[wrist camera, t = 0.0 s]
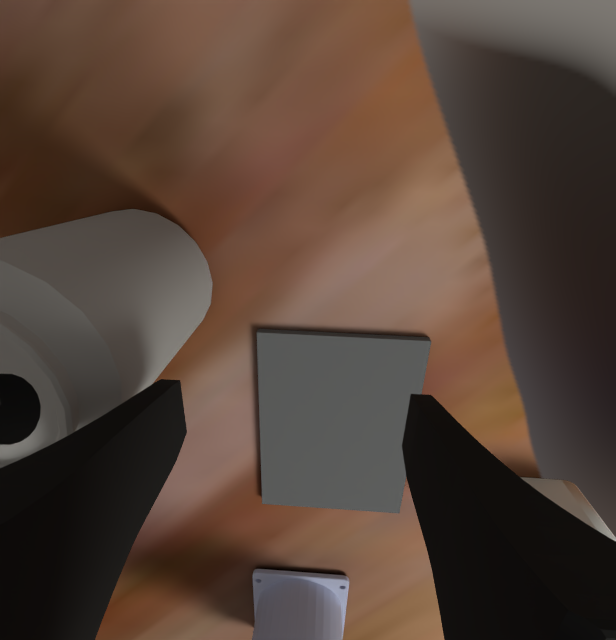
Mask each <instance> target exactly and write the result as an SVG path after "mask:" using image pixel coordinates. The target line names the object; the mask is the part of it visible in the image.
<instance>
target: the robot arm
mask: <svg viewBox="0 0 616 640" xmlns="http://www.w3.org/2000/svg"><path fill="white" fill-rule="evenodd" d="M186 433H187V430H186V422H185V414H184V407H183V399H182V392H181V384H180V380H164V379H161V380H159V381H157V382H155V383H154V384H152V385H150V386H149V387H147V388H145V389H144V390H142V391H141V392H139V393H138V394H136V395H134V396H133V397H131V398H130V399H128V400H127V401H125V402H123V403H122V404H120V405H119V406H117V407H115V408H114V409H112V410H111V411H109V412H108V413H106V414H104V415H103V416H101V417H99V418H98V419H96V420H94V421H92V422H91V423H89V424H87V425H86V426H84V427H82V428H80V429H79V430H77V431H75V432H73V433H72V434H70V435H68V436H66V437H64V438H63V439H61V440H59V441H57V442H55V443H53V444H51V445H49V446H47V447H45V448H43V449H41V450H39V451H37V452H35V453H33V454H31V455H29V456H27V457H25V458H22V459H20V460H18V461H16V462H13V463H11V464H9V465H6V466H4V467H2V468H0V640H95V638H96V635H97V632H98V630H99V627H100V624H101V621H102V619H103V616H104V614H105V611H106V609H107V606H108V604H109V601H110V599H111V596H112V593H113V591H114V588H115V586H116V583H117V581H118V578H119V576H120V574H121V571H122V569H123V566H124V564H125V562H126V559H127V557H128V554H129V552H130V550H131V547H132V545H133V543H134V541H135V539H136V537H137V535H138V533H139V531H140V529H141V527H142V525H143V523H144V521H145V519H146V517H147V515H148V514H149V512H150V510H151V508H152V506H153V504H154V502H155V500H156V499H157V497H158V495H159V493H160V491H161V489H162V487H163V485H164V483H165V482H166V480H167V478H168V476H169V474H170V472H171V470H172V468H173V466H174V464H175V462H176V460H177V457H178V455H179V452H180V450H181V447H182V444H183V441H184V439H185V436H186ZM402 451H403V458H404V464H405V470H406V476H407V480H408V484H409V488H410V491H411V495H412V498H413V502H414V506H415V509H416V513H417V516H418V519H419V523H420V526H421V530H422V533H423V537H424V540H425V544H426V547H427V551H428V555H429V559H430V563H431V567H432V572H433V578H434V583H435V588H436V594H437V599H438V604H439V610H440V615H441V621H442V627H443V633H444V639H445V640H616V541H614V540H612V539H611V538H609V537H607V536H606V535H604V534H602V533H601V532H599V531H597V530H596V529H594V528H592V527H591V526H589V525H588V524H586V523H585V522H583V521H581V520H580V519H578V518H577V517H575V516H574V515H572V514H571V513H569V512H568V511H566V510H565V509H563V508H562V507H560V506H559V505H557V504H556V503H554V502H553V501H551V500H550V499H549V498H547V497H546V496H544V495H543V494H542V493H540V492H539V491H538V490H536V489H535V488H534V487H532V486H531V485H530V484H528V483H527V482H526V481H524V480H523V479H522V478H520V477H519V476H518V475H516V474H515V473H514V472H513V471H511V470H510V469H509V468H508V467H507V466H505V465H504V464H503V463H502V462H501V461H500V460H498V459H497V458H496V457H495V456H494V455H493V454H491V453H490V452H489V451H488V450H487V449H486V448H485V447H484V446H482V445H481V444H480V443H479V442H478V441H477V440H476V439H475V438H474V437H473V436H472V435H471V434H470V433H469V432H468V431H467V430H465V429H464V428H463V427H462V426H461V425H460V424H459V423H458V422H457V421H456V420H455V419H454V418H453V417H452V416H451V415H450V414H449V413H448V412H447V410H446V409H445V408H444V407H443V406H442V405H441V404H440V403H439V402H438V401H437V400H436V399H435V398H434V397H433V396H431V395H422V394H411V396H410V401H409V407H408V413H407V419H406V424H405V430H404V436H403V442H402ZM252 577H253V596H254V615H255V624H254V631H253V637H252V640H342V639H343V630H344V622H345V614H346V605H347V597H348V588H349V578H348V577H347V576H345V575H334V574H321V573H308V572H295V571H282V570H269V569H255V570H254V571H253V576H252Z"/></svg>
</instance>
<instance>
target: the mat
mask: <svg viewBox="0 0 616 640" xmlns="http://www.w3.org/2000/svg"><path fill="white" fill-rule="evenodd" d="M430 345H431V340H430V338H429V337H412V336H392V335H372V334H352V333H333V332H313V331H293V330H273V329H258V331H257V357H258V388H259V419H260V451H261V482H262V504H273V505H288V506H302V507H316V508H331V509H345V510H359V511H374V512H388V513H399V512H400V506H401V501H402V496H403V490H404V485H405V480H406V470H405V464H404V458H403V451H402V442H403V436H404V430H405V424H406V419H407V413H408V407H409V401H410V396H411V394H421V393H422V388H423V383H424V377H425V372H426V366H427V361H428V356H429V350H430Z"/></svg>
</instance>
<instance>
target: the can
mask: <svg viewBox="0 0 616 640" xmlns="http://www.w3.org/2000/svg"><path fill="white" fill-rule="evenodd" d="M212 284H213V283H212V279H211V275H210V271H209V267H208V262H207V261H206V259H205V257H204V256H203V254H202V252H201V250H200V249H199V247H198V245H197V243H196V242H195V241H194V240H193V239H192V238H191V237H190V236H189V235H188V234H187V233H186V232H185V231H184V230H183V229H182V228H181V227H180V226H179V225H177V224H175V223H173V222H171V221H170V220H168V219H166V218H164V217H162V216H160V215H159V214H157V213H152V212H147V211H142V210H137V209H127V210H120V211H112V212H108V213H103V214H99V215H95V216H91V217H87V218H82V219H78V220H74V221H70V222H66V223H61V224H57V225H53V226H49V227H45V228H40V229H36V230H32V231H28V232H24V233H19V234H15V235H11V236H7V237H3V238H0V468H2V467H4V466H6V465H9V464H11V463H13V462H16V461H18V460H20V459H22V458H25V457H27V456H29V455H31V454H33V453H35V452H37V451H39V450H41V449H43V448H45V447H47V446H49V445H51V444H53V443H55V442H57V441H59V440H61V439H63V438H64V437H66V436H68V435H70V434H72V433H73V432H75V431H77V430H79V429H80V428H82V427H84V426H86V425H87V424H89V423H91V422H92V421H94V420H96V419H98V418H99V417H101V416H103V415H104V414H106V413H108V412H109V411H111V410H112V409H114V408H115V407H117V406H119V405H120V404H122V403H123V402H125V401H127V400H128V399H130V398H131V397H133V396H134V395H136V394H138V393H139V392H141V391H142V390H144V389H145V388H147V387H149V386H150V385H152V383H153V382H154V381H155V380H156V378H157V377H158V376H159V375H160V373H161V372H162V371H163V370H164V368H165V367H166V366H167V365H168V363H169V362H170V361H171V360H172V358H173V357H174V356H175V355H176V353H177V352H178V351H179V350H180V348H181V347H182V346H183V344H184V343H185V342H186V341H187V339H188V338H189V337H190V336H191V334H192V333H193V332H194V331H195V329H196V328H197V327H198V326H199V324H200V323H201V322H202V321H203V319H204V317H205V315H206V312H207V310H208V308H209V306H210V304H211V295H212Z"/></svg>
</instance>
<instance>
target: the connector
mask: <svg viewBox="0 0 616 640" xmlns="http://www.w3.org/2000/svg"><path fill="white" fill-rule="evenodd" d="M520 478H522V479H523V480H524V481H526V482H527V483H528V484H530V485H531V486H532V487H534V488H535V489H536V490H538V491H539V492H540V493H542V494H543V495H544V496H546V497H547V498H549V499H550V500H551V501H553V502H554V503H556V504H557V505H559V506H560V507H562V508H563V509H565V510H566V511H568V512H569V513H571V514H572V515H574V516H575V517H577V518H578V519H580V520H581V521H583V522H585V523H586V524H588V525H589V526H591V527H592V528H594V529H596V530H597V531H599V532H601V533H602V534H604V535H606V536H607V537H609V538H611V539H612V540H614V541H616V538H615V536H614V535H613V534H612V532H611V531H610V530H609V528H608V527H607V526H606V525H605V523H604V522H603V520H602V519H601V518H600V517H599V515H598V514H597V513H596V511H595V510H594V509H593V507H592V506H591V505H590V503H589V502H588V501H587V499H586V498H585V497H584V495H583V494H582V493H581V491H580V490H579V489H578V487H577V486H576V485H575V484H573V483H571V482H569V481H566V480H557V479H542V478H526V477H520Z"/></svg>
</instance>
